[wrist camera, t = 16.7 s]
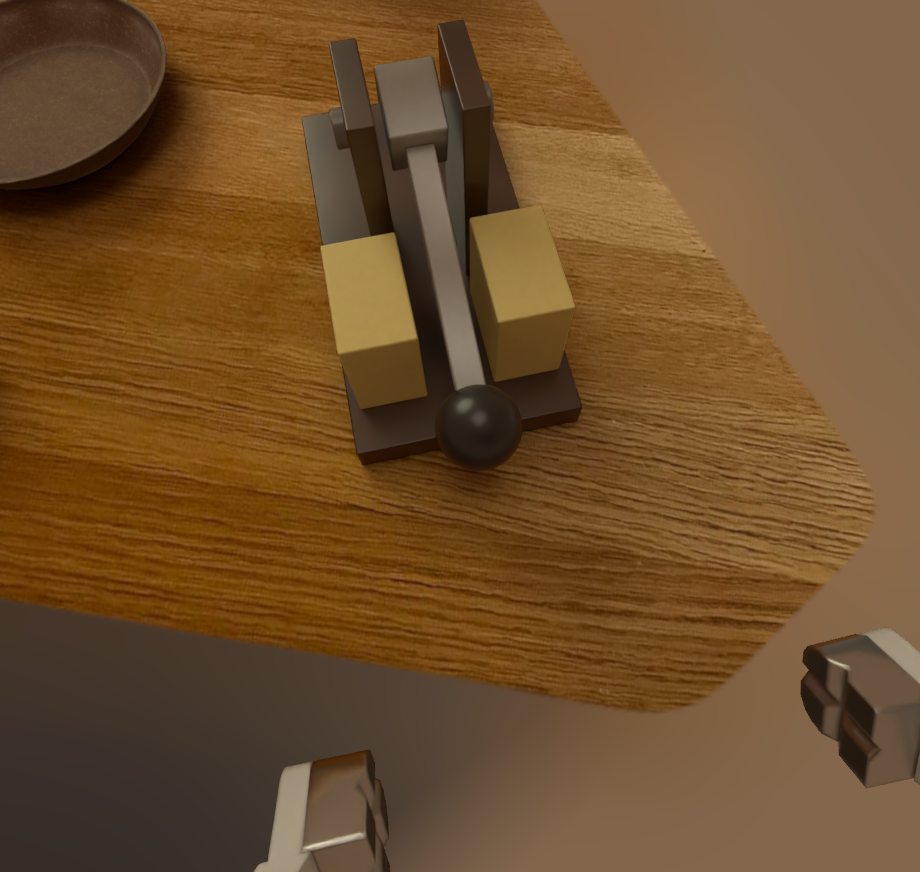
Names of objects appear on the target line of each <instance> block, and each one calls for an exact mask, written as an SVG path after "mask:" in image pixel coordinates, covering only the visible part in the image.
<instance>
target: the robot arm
mask: <svg viewBox="0 0 920 872" xmlns="http://www.w3.org/2000/svg"><path fill="white" fill-rule="evenodd" d="M803 663H804V665H806V667H807V668H808V669H809V671H808V672H807V673H806V675H805V676H804V677H803V679H802V680H801V697H802V700H803V703H804V707H805V710H806V711H807V713H808V715H809V717H810V719H811V720H812V722H813V723H814V724H815V726H816V727H817V728H818V730H819V731H820V732H821V733H822V734H824V735H825V736H827V737H829V738H832V739H833V740H836V741H837V742H838V744H839V756H840V757H841V758H842V759H843V761H844V762H845V763H846V764H847V765H848V767H849V768H850V769H851V770H852V771H853V773H854V774H855V775H856V776H857V778H858V779H859V780H860V781H861V782H862V784H863V785H864V786H865V787H866V788H870V787H874V786H879V785H884V784H888V783H893V782H897V781H902V780H907V779H911V778H914V781H915V782H917V783H918V784H920V652H919V651H917V650H916V649H915V648H914V647H913V646H912V645H911V644H909V643H908V642H907V641H906V640H905V639H904V638H902V637H901V636H900V635H899V634H898V633H896V632H895V631H894V630H892V629H889V628H887V627H885V628H881V629H877V630H872V631H868V632H864V633H860V634H854V635H850V636H846V637H842V638H838V639H834V640H830V641H826V642H822V643H818V644H814V645H810V646H807V648H806V649H805V650H804V652H803ZM388 839H389V830H388V816H387V807H386V801H385V797H384V791H383V788H382V784H381V781H380V780H379V779H377V778H375V762H374V759H373V756H372V754H371V751H370V750H365V751H360V752H355V753H350V754H346V755H341V756H336V757H331V758H326V759H322V760H316V761H313V762H308V763H304V764H299V765H295V766H290V767H285V768H284V771H283V773H282V775H281V778H280V785H279V792H278V797H277V804H276V811H275V818H274V824H273V830H272V837H271V843H270V850H269V857H268V862H265V863H261V864H259V865H258V866H257V868H256V869H255V871H254V872H390V865H389V862H388V859H387V856H386V853H385V849H384V846H385V845H386V843H387V841H388Z"/></svg>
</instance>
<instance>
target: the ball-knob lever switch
mask: <svg viewBox="0 0 920 872" xmlns="http://www.w3.org/2000/svg"><path fill="white" fill-rule="evenodd" d="M374 74H375V81H376V88H377V95H378V102H379V108H380V113H381V118H382V122H383V127H384V132H385V136H386V141H387V146H388V151H389V155H390V160H391V165H392V169H393V170H394V171H397V170H403V169H408V172H409V177H410V182H411V186H412V191H413V196H414V201H415V205H416V210H417V215H418V219H419V224H420V229H421V234H422V238H423V243H424V248H425V252H426V257H427V262H428V267H429V271H430V276H431V281H432V285H433V290H434V295H435V300H436V304H437V309H438V314H439V318H440V323H441V328H442V333H443V337H444V342H445V347H446V351H447V356H448V361H449V366H450V370H451V375H452V380H453V384H454V389H455V391H454V392H452V393H451V394H450V395H449V396H448V397H447V398H446V399H445V400H444V402H443V403H442V404H441V406H440V408H439V410H438V413H437V416H436V421H435V433H436V438H437V442H438V444H439V446H440V448H441V450H442V452H443V453H444V454H445V455H446V457H447V458H448V459H449V460H451V461H452V462H453V463H455V464H456V465H458V466H460V467H462V468H465V469H468V470H474V471H484V470H489V469H493V468H495V467H498V466H499V465H501V464H503V463H504V462H505V461H507V460H508V459H509V458H510V457H511V456H512V455H513V453H514V452H515V451H516V449H517V447H518V445H519V443H520V440H521V436H522V419H521V415H520V412H519V409H518V407H517V405H516V404H515V402H514V401H513V400H512V398H511V397H510V396H509V395H508V394H506V393H505V392H504V391H502V390H501V389H499V388H497V387H494V386H492V385H488V384H486V382H485V377H484V373H483V368H482V363H481V359H480V354H479V349H478V345H477V340H476V335H475V331H474V326H473V322H472V317H471V312H470V308H469V303H468V298H467V294H466V289H465V284H464V280H463V275H462V270H461V266H460V261H459V256H458V252H457V247H456V242H455V238H454V233H453V228H452V224H451V219H450V214H449V210H448V205H447V200H446V196H445V191H444V186H443V182H442V177H441V172H440V168H439V163H441V162H446V161H447V152H448V132H449V127H448V122H447V117H446V113H445V108H444V103H443V99H442V94H441V90H440V85H439V80H438V76H437V71H436V66H435V62H434V58H433V57H432V56H429V57H423V58H417V59H411V60H405V61H400V62H394V63H388V64H382V65H376V66H374Z"/></svg>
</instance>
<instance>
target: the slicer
mask: <svg viewBox="0 0 920 872" xmlns="http://www.w3.org/2000/svg"><path fill="white" fill-rule="evenodd" d="M437 28H438V46H439V63H440V81H441V94H442V99H443V103H444V108H445V113H446V117H447V122H448V127H449V132H448V152H447V161H446V162H441V163H439V168H440V172H441V177H442V182H443V186H444V191H445V196H446V200H447V205H448V210H449V214H450V219H451V224H452V228H453V233H454V238H455V242H456V247H457V252H458V256H459V261H460V266H461V270H462V275H463V280H464V284H465V289H466V294H467V298H468V303H469V308H470V312H471V317H472V322H473V326H474V331H475V335H476V340H477V345H478V349H479V354H480V359H481V363H482V368H483V373H484V377H485V382H486V384H488V385H492V386H494V387H497V388H499V389H501V390H502V391H504V392H505V393H506V394H508V395H509V396H510V397H511V398H512V400H513V401H514V402H515V404H516V405H517V407H518V409H519V412H520V415H521V419H522V432H523V431H528V430H533V429H538V428H542V427H547V426H552V425H557V424H561V423H566V422H571V421H576V420H577V419H578V417H579V414H580V412H581V409H582V404H581V401H580V398H579V395H578V392H577V389H576V385H575V382H574V379H573V376H572V373H571V370H570V367H569V363H568V360H567V357H566V354H565V351H564V352H563V356H562V359H561V363H560V367H559V369H557V370H552V371H547V372H542V373H537V374H532V375H527V376H522V377H517V378H512V379H508V380H503V381H498V382H495V381H494V379H493V376H492V372H491V368H490V364H489V360H488V357H487V353H486V349H485V345H484V342H483V338H482V334H481V330H480V326H479V323H478V319H477V315H476V311H475V307H474V304H473V300H472V296H471V292H470V229H469V220H470V218H472V217H477V216H483V215H488V214H493V213H499V212H504V211H509V210H514V209H519V206H518V202H517V199H516V196H515V193H514V190H513V187H512V183H511V180H510V177H509V174H508V171H507V168H506V165H505V161H504V158H503V155H502V152H501V149H500V146H499V142H498V139H497V136H496V133H495V130H494V127H493V124H492V122H493V117H494V106H493V98H492V92H491V88H490V85H489V83H488V82H483V78H482V75H481V72H480V69H479V66H478V63H477V60H476V57H475V54H474V50H473V47H472V44H471V41H470V38H469V35H468V32H467V29H466V25H465V22H464V20H458V21H452V22H446V23H441V24H438V26H437ZM329 48H330V53H331V58H332V63H333V68H334V74H335V79H336V84H337V89H338V94H339V99H340V104H341V107H338V108H332V109H329V112H327V113H321V114H316V115H310V116H304V117H302V123H303V130H304V136H305V142H306V148H307V154H308V160H309V166H310V172H311V178H312V185H313V191H314V197H315V203H316V209H317V215H318V221H319V227H320V233H321V239H322V246H323V245H329V244H334V243H339V242H345V241H350V240H355V239H361V238H366V237H371V236H377V235H382V234H387V233H392V232H393V233H395V235H396V239H397V244H398V248H399V253H400V257H401V262H402V267H403V271H404V276H405V280H406V285H407V289H408V294H409V299H410V303H411V308H412V312H413V317H414V321H415V326H416V330H417V335H418V340H419V346H420V352H421V358H422V364H423V370H424V376H425V383H426V389H427V396H424V397H420V398H415V399H410V400H405V401H400V402H395V403H390V404H385V405H380V406H375V407H371V408H366V409H361V408H360V406H359V404H358V401H357V399H356V396H355V394H354V392H353V389H352V387H351V385H350V382H349V380H348V377H347V375H346V373H345V370H344V368H343V366H342V368H343V374H344V380H345V386H346V392H347V398H348V404H349V410H350V417H351V423H352V429H353V435H354V441H355V447H356V453H357V455H358V457H359V459H360V461H361V463H362V465H366V464H371V463H376V462H380V461H385V460H390V459H395V458H399V457H404V456H409V455H414V454H418V453H423V452H428V451H433V450H438V449H441V448H440V446H439V444H438V442H437V438H436V433H435V421H436V416H437V413H438V410H439V408H440V406H441V404H442V403H443V402H444V400H445V399H446V398H447V397H448V396H449V395H450V394H451V393H452V392H454V391H455V389H454V384H453V380H452V375H451V370H450V366H449V361H448V356H447V351H446V347H445V342H444V337H443V333H442V328H441V323H440V318H439V314H438V309H437V304H436V300H435V295H434V290H433V285H432V281H431V276H430V271H429V267H428V262H427V257H426V252H425V248H424V243H423V238H422V234H421V229H420V224H419V219H418V215H417V210H416V205H415V201H414V196H413V191H412V186H411V182H410V177H409V172H408V169H403V170H397V171H394V170H393V169H392V165H391V160H390V155H389V151H388V146H387V141H386V136H385V132H384V127H383V122H382V118H381V113H380V108H379V103H378V104H373V105H370V100H369V96H368V91H367V87H366V82H365V78H364V73H363V69H362V64H361V60H360V55H359V51H358V46H357V42H356V39H355V38H353V39H347V40H341V41H335V42H330V43H329Z"/></svg>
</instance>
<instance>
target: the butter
mask: <svg viewBox="0 0 920 872" xmlns="http://www.w3.org/2000/svg"><path fill="white" fill-rule="evenodd" d="M469 229H470V292H471V296H472V300H473V304H474V307H475V311H476V315H477V319H478V323H479V326H480V330H481V334H482V338H483V342H484V345H485V349H486V353H487V357H488V360H489V364H490V368H491V372H492V376H493V379H494V381H495V382H498V381H503V380H508V379H512V378H517V377H522V376H527V375H532V374H537V373H542V372H547V371H552V370H557V369H559V367H560V363H561V359H562V356H563V352H564V348H565V345H566V341H567V337H568V334H569V330H570V326H571V323H572V319H573V315H574V312H575V308H576V306H575V303H574V300H573V297H572V294H571V291H570V288H569V285H568V282H567V279H566V276H565V273H564V270H563V267H562V264H561V261H560V258H559V255H558V252H557V249H556V246H555V243H554V240H553V237H552V234H551V231H550V228H549V225H548V222H547V219H546V216H545V213H544V210H543V207H542V205H536V206H530V207H525V208H520V209H514V210H509V211H504V212H499V213H493V214H488V215H483V216H477V217H472V218H470V220H469ZM321 255H322V261H323V267H324V273H325V280H326V286H327V292H328V298H329V304H330V310H331V317H332V323H333V329H334V335H335V341H336V347H337V354H338V356H339V358H340V361H341V363H342V366H343V368H344V370H345V373H346V375H347V377H348V380H349V382H350V385H351V387H352V389H353V392H354V394H355V396H356V399H357V401H358V404H359V406H360V408H361V409H366V408H371V407H375V406H380V405H385V404H390V403H395V402H400V401H405V400H410V399H415V398H420V397H424V396H427V389H426V383H425V376H424V370H423V364H422V358H421V352H420V346H419V340H418V335H417V330H416V326H415V321H414V317H413V312H412V308H411V303H410V299H409V294H408V289H407V285H406V280H405V276H404V271H403V267H402V262H401V257H400V253H399V248H398V244H397V239H396V235H395V233H393V232H392V233H387V234H382V235H377V236H371V237H366V238H361V239H355V240H350V241H345V242H339V243H334V244H329V245H323V246H321Z"/></svg>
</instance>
